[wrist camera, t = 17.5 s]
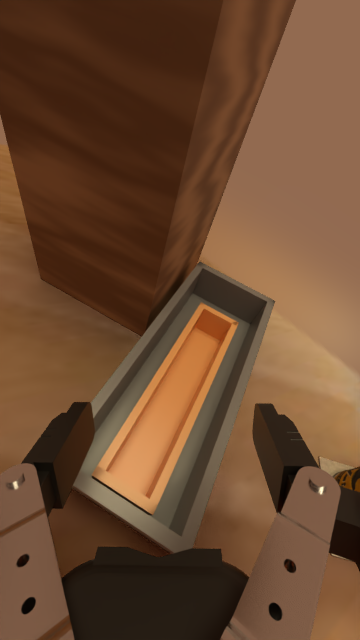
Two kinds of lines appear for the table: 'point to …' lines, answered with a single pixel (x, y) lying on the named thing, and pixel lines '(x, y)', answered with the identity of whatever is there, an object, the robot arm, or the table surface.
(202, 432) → the charcoal crate
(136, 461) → the narrow crate
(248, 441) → the table surface
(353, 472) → the condiment
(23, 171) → the walnut stand
